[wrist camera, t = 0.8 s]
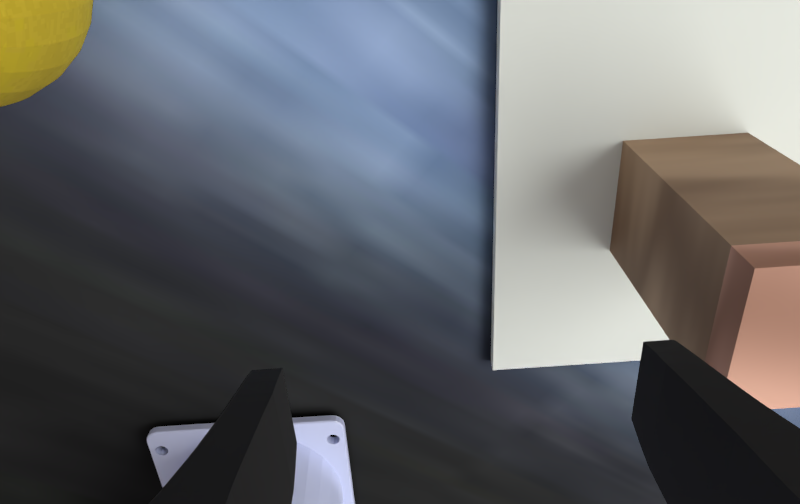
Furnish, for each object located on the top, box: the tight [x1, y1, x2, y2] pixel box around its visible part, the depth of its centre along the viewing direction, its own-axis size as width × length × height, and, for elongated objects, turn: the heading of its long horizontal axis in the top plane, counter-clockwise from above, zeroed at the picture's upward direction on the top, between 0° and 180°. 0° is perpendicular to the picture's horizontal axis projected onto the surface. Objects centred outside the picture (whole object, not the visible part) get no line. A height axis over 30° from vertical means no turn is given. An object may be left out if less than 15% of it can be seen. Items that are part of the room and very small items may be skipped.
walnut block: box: [610, 133, 800, 409], centre depth 18 cm, size 4×4×8 cm
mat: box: [491, 0, 800, 370], centre depth 21 cm, size 14×18×1 cm
